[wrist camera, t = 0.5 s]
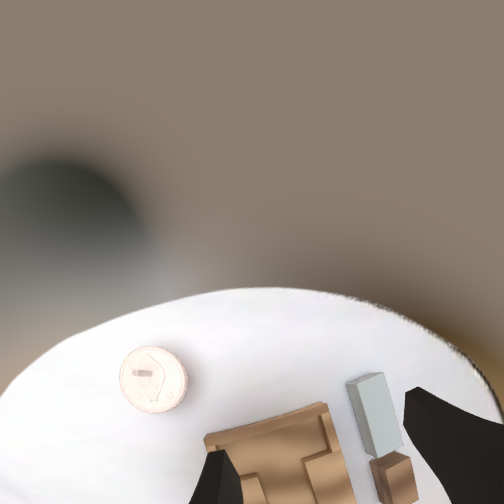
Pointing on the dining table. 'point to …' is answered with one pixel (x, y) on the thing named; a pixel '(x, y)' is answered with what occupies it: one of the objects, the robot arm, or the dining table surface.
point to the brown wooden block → (394, 479)
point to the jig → (288, 458)
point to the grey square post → (375, 414)
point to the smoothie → (153, 379)
